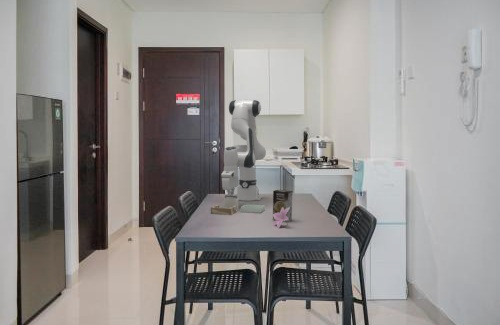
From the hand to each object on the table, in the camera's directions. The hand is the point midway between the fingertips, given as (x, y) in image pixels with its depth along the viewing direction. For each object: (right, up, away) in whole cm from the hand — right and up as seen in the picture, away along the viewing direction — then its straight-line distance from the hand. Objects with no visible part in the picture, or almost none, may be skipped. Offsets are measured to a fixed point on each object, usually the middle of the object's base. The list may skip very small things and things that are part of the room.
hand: (230, 195), depth 259 cm
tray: (+14, -9, -6) cm, 17 cm away
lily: (+28, -12, -47) cm, 56 cm away
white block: (0, -9, +1) cm, 9 cm away
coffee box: (+30, -11, -32) cm, 45 cm away
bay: (-4, -9, -11) cm, 15 cm away
